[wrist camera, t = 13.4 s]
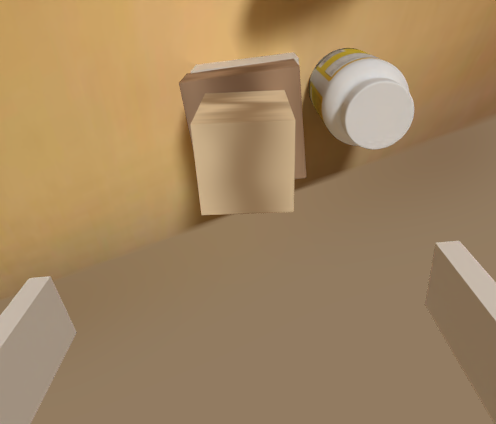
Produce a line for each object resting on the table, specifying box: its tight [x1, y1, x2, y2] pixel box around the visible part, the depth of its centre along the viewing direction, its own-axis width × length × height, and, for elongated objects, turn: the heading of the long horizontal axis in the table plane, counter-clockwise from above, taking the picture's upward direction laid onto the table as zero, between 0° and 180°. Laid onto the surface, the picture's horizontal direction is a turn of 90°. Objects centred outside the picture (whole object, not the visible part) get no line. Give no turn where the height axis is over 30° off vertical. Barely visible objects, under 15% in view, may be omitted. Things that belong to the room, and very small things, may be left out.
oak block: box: [190, 90, 295, 215], centre depth 26 cm, size 6×6×8 cm
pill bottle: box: [309, 48, 414, 149], centre depth 30 cm, size 6×6×12 cm
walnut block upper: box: [179, 59, 306, 179], centre depth 32 cm, size 9×9×4 cm
